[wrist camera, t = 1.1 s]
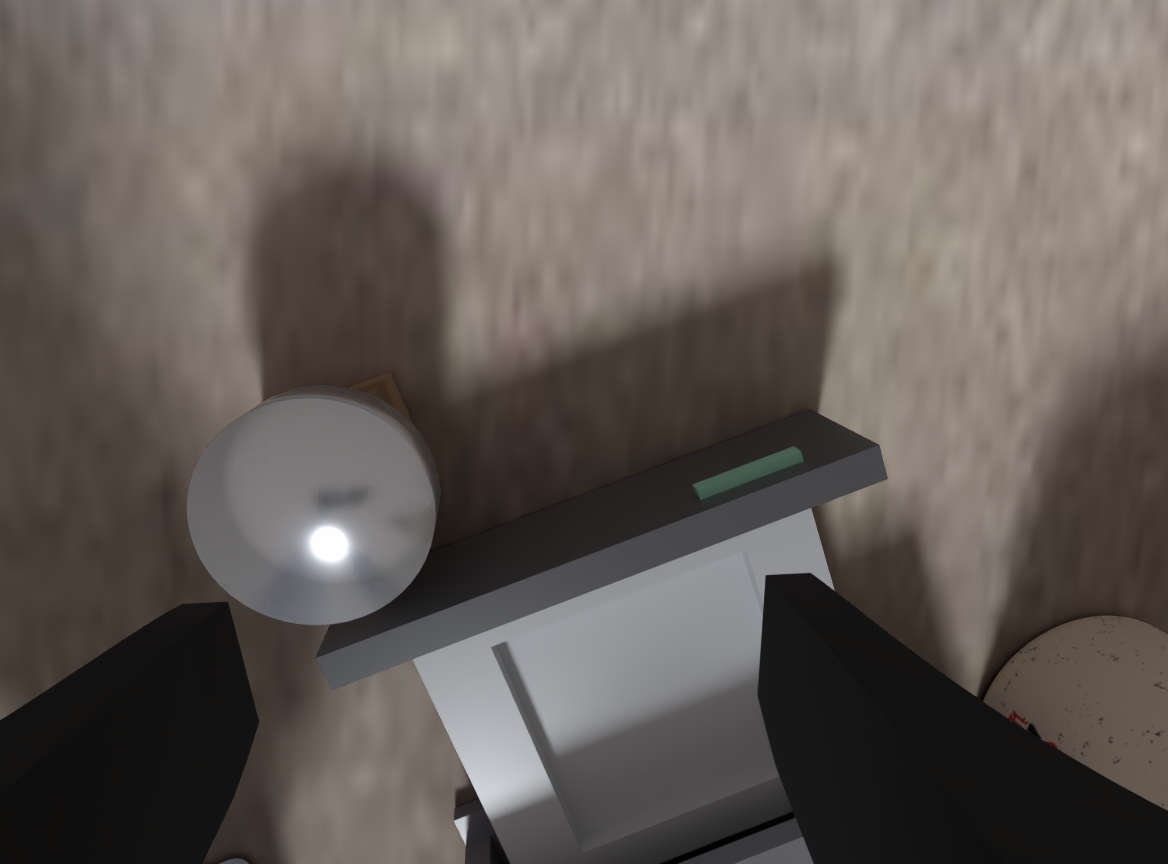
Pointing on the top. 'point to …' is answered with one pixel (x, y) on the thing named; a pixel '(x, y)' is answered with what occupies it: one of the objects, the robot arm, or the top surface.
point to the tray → (619, 646)
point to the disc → (315, 505)
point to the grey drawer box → (744, 860)
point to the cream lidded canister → (1095, 698)
